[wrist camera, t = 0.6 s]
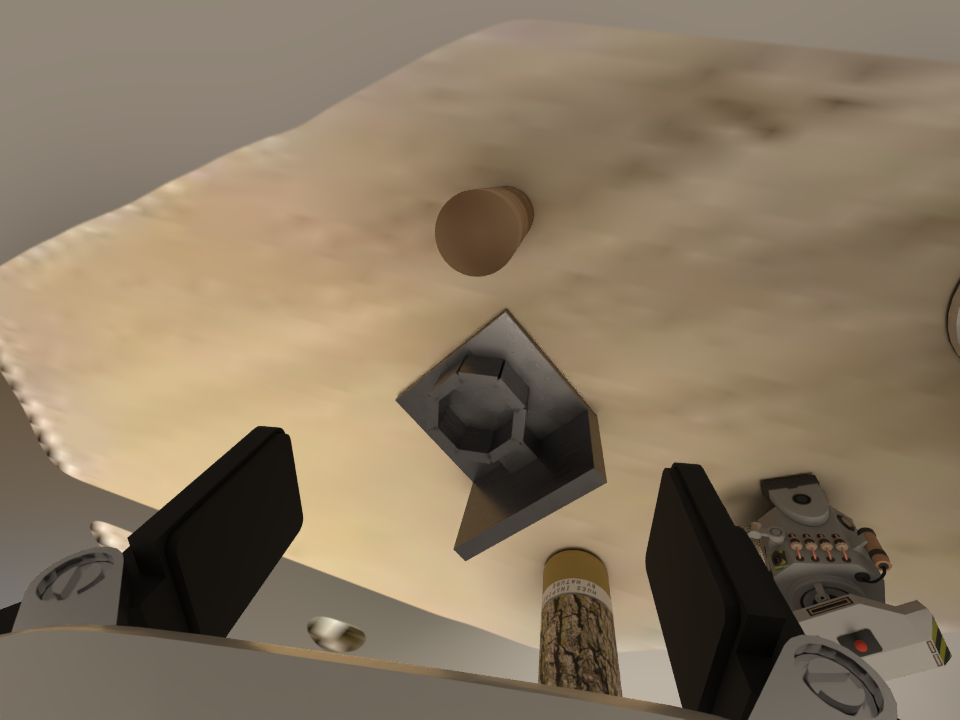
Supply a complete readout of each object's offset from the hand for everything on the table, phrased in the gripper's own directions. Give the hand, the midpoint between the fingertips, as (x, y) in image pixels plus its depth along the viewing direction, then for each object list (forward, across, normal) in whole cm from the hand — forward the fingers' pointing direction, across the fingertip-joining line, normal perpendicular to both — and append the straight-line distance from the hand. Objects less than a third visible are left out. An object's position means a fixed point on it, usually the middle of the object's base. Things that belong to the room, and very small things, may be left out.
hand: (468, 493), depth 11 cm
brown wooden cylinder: (+29, +1, -4) cm, 29 cm away
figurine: (+28, -24, +22) cm, 43 cm away
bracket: (+29, +2, +13) cm, 32 cm away
